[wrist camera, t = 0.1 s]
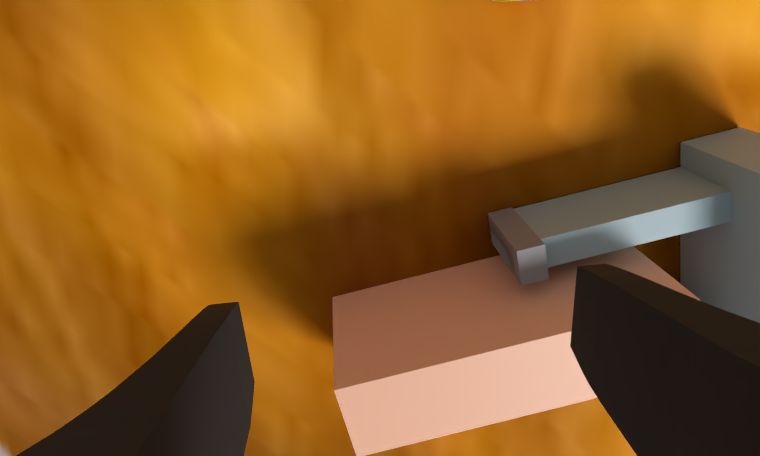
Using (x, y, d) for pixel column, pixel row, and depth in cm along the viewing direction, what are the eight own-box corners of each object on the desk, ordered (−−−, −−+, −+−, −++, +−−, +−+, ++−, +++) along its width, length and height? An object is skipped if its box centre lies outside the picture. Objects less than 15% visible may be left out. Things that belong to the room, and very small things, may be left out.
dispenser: (731, 314, 25) (822, 386, 20) (512, 369, 25) (554, 452, 20) (739, 127, 21) (854, 162, 16) (483, 191, 21) (527, 244, 17)
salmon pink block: (612, 286, 24) (698, 372, 18) (349, 351, 24) (356, 457, 18) (608, 226, 22) (699, 299, 17) (332, 295, 23) (334, 390, 17)
